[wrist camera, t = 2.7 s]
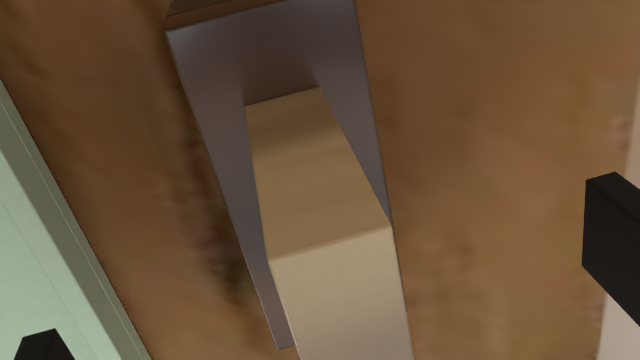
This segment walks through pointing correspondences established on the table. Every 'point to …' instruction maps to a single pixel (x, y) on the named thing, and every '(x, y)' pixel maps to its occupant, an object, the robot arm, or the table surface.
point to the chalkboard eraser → (298, 167)
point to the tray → (51, 260)
